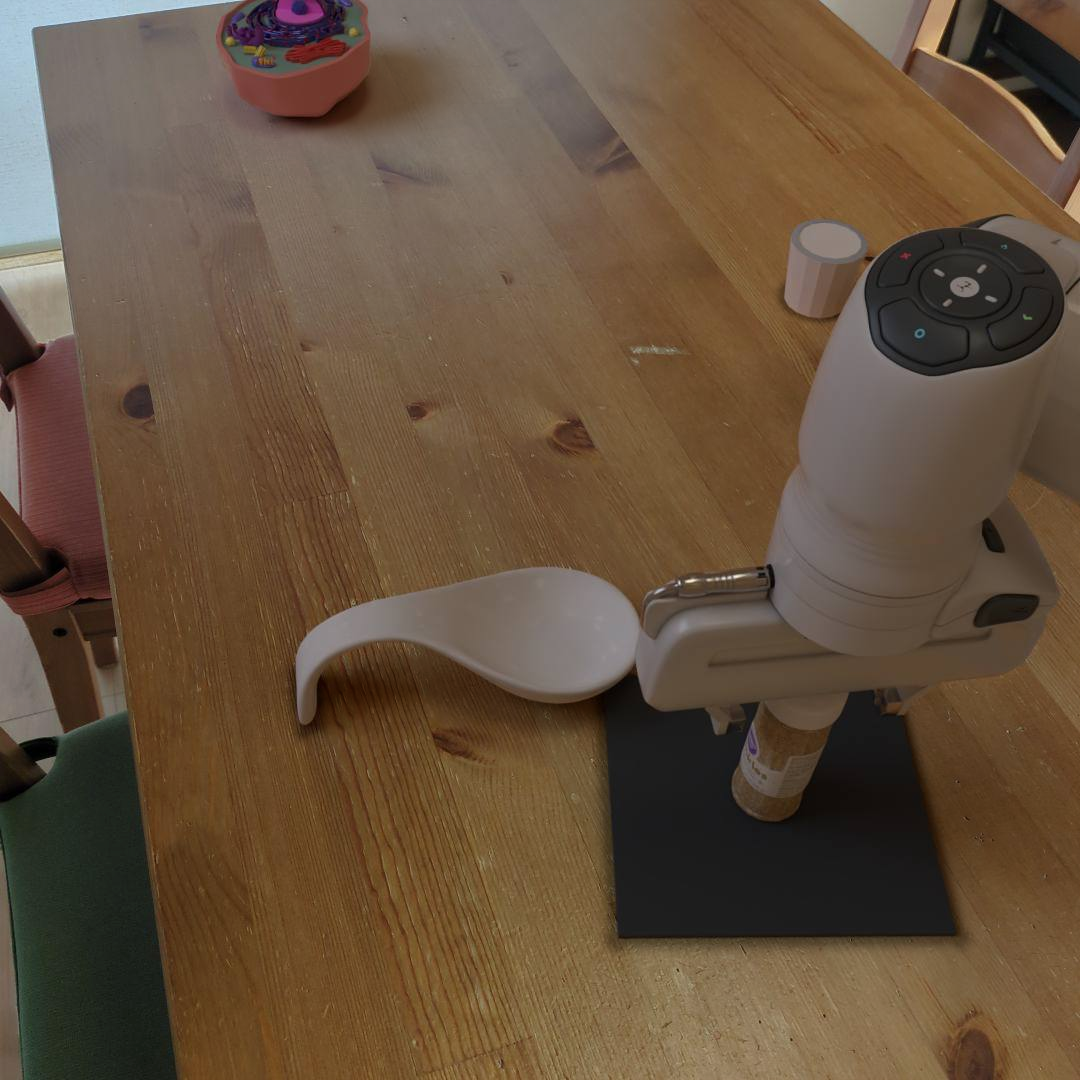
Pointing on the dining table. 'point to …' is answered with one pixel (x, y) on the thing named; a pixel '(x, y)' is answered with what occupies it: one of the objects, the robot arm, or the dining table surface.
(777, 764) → the sprinkles bottle
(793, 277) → the white short cylinder
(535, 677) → the spoon rest
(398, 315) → the dining table surface
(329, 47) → the cell model
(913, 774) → the mat
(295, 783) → the dining table surface
